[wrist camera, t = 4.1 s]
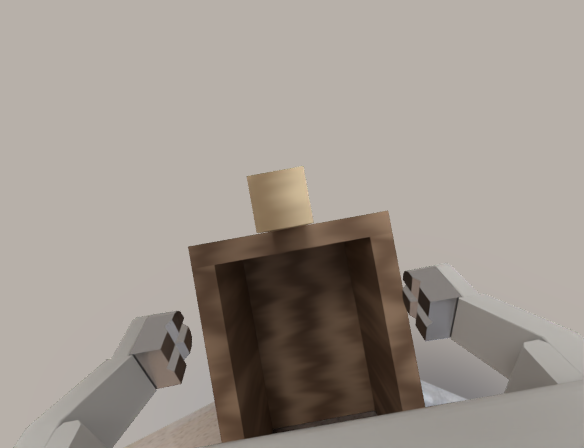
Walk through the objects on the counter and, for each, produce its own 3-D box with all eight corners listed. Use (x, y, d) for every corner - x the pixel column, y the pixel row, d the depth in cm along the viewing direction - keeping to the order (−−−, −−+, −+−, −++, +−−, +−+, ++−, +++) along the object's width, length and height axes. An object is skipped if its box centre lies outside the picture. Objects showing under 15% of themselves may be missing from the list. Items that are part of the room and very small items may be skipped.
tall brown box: (239, 543, 24) (188, 246, 24) (259, 421, 39) (228, 240, 39) (443, 505, 24) (388, 210, 24) (384, 398, 39) (351, 218, 39)
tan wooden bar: (256, 232, 14) (246, 176, 14) (279, 231, 38) (275, 209, 38) (313, 222, 14) (303, 165, 14) (300, 227, 38) (296, 206, 38)
